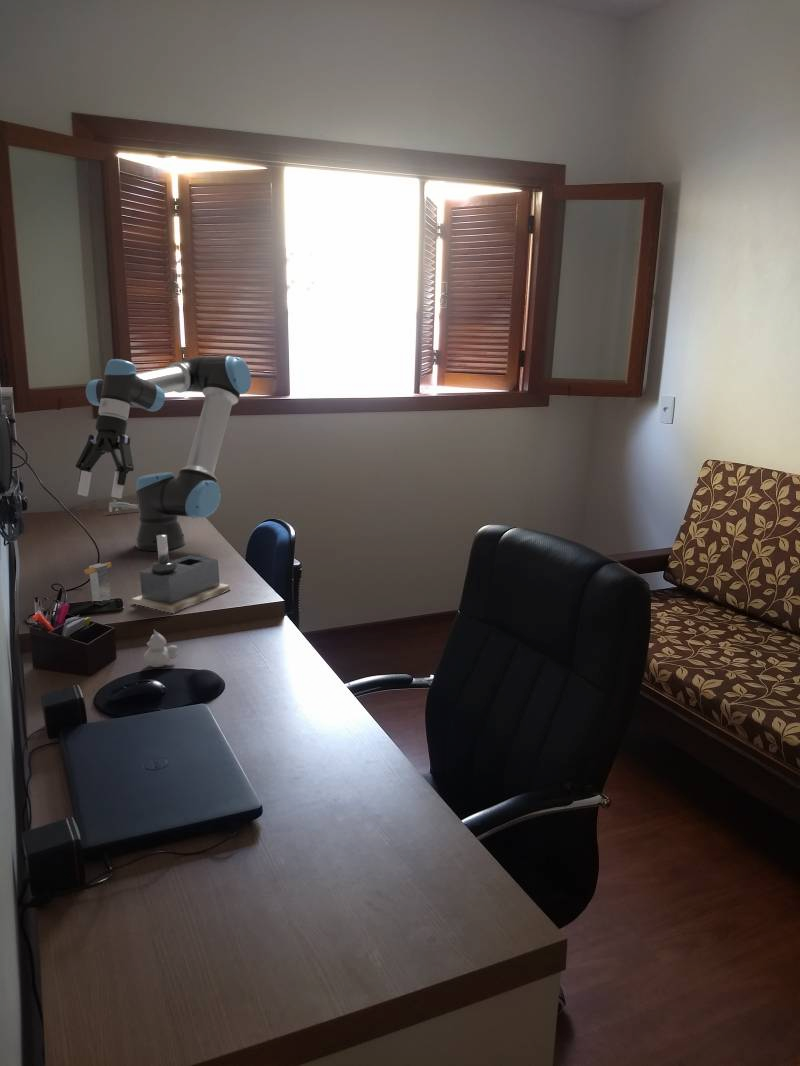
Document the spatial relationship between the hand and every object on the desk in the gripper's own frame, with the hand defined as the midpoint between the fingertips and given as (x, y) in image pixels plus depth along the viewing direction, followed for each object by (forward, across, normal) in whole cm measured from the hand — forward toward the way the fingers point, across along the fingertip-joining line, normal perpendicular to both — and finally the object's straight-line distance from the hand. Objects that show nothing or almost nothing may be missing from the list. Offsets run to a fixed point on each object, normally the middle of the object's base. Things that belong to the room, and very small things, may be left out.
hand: (99, 496), depth 201 cm
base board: (+23, +24, +11) cm, 35 cm away
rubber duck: (+36, +52, -18) cm, 66 cm away
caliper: (-4, -66, +68) cm, 94 cm away
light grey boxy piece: (+27, +10, -2) cm, 29 cm away
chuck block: (+22, +24, +11) cm, 34 cm away
